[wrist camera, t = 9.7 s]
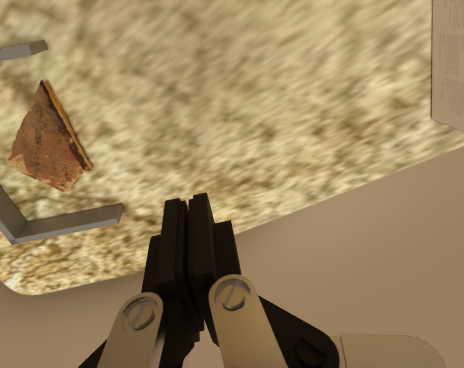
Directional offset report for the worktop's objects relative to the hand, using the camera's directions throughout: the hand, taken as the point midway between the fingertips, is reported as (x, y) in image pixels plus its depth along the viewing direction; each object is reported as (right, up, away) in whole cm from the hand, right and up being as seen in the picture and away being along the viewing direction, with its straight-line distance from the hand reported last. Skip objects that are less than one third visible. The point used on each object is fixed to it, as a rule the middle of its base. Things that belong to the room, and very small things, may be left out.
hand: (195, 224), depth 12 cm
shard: (-19, +7, +19) cm, 28 cm away
